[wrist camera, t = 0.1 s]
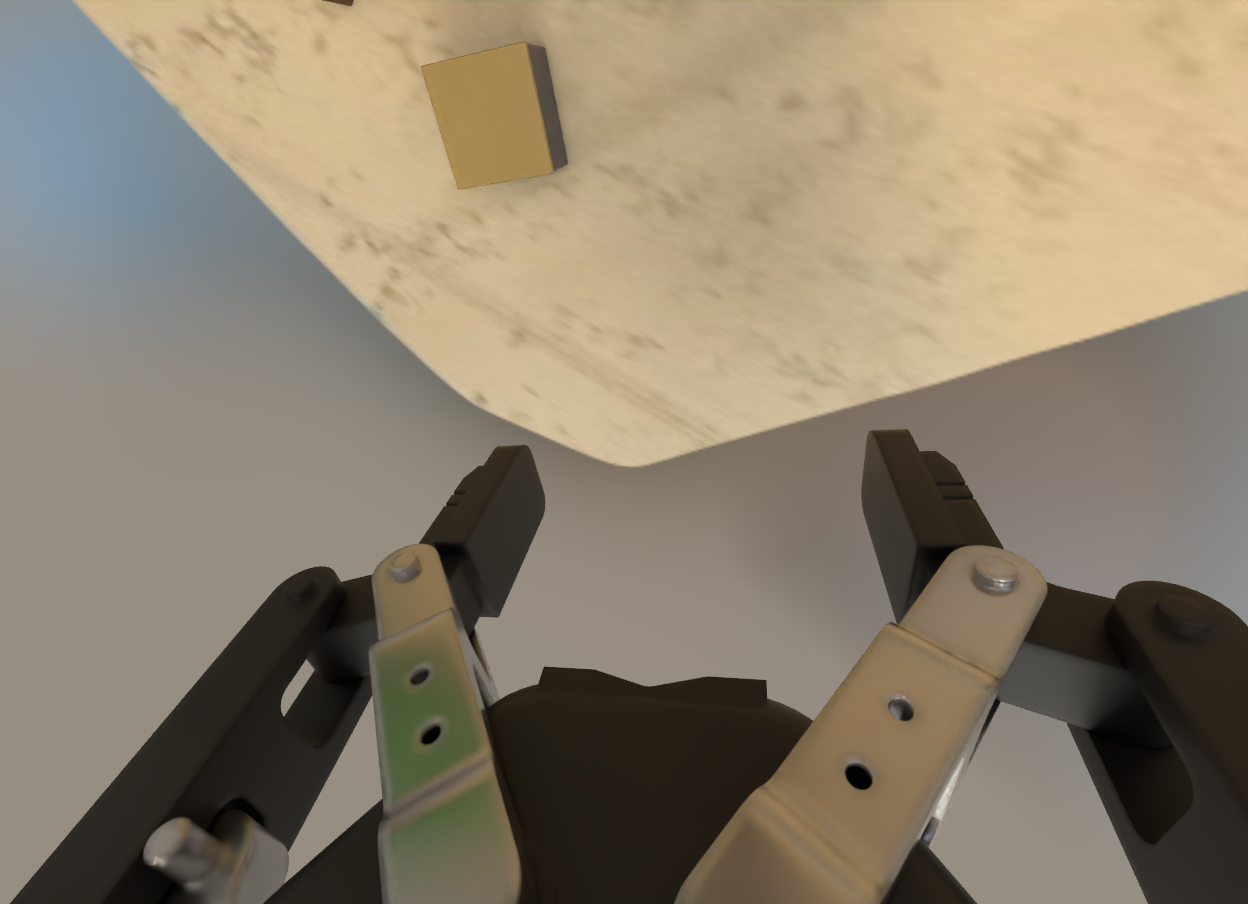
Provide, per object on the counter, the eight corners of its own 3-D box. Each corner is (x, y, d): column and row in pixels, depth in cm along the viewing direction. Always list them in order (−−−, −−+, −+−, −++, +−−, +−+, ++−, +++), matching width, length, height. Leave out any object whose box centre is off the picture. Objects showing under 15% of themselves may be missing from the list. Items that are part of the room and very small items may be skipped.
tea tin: (450, 67, 34) (420, 66, 31) (545, 45, 32) (524, 41, 29) (481, 180, 37) (457, 189, 34) (569, 165, 36) (552, 173, 33)
